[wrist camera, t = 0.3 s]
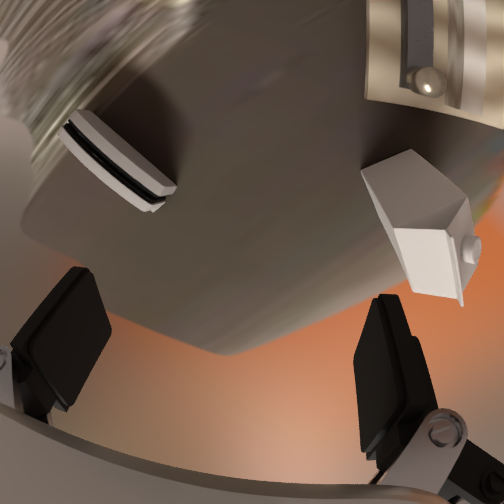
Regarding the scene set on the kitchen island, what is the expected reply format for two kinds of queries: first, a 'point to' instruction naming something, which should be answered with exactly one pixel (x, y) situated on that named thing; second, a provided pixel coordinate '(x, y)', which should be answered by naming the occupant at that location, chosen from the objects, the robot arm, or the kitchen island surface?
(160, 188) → the grey curved block
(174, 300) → the kitchen island surface
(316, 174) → the kitchen island surface
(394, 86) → the base
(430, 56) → the swing bar
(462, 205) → the milk carton
